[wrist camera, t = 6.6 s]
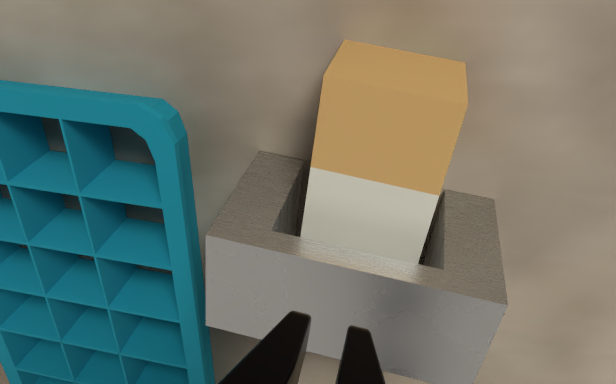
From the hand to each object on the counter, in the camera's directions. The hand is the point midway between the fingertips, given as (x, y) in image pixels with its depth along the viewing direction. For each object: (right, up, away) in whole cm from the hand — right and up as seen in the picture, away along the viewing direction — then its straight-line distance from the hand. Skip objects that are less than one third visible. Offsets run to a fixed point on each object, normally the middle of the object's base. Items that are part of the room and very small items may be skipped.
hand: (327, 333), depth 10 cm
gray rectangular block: (+2, +2, +11) cm, 11 cm away
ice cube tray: (-10, -1, +16) cm, 19 cm away
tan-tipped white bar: (+2, +3, +10) cm, 11 cm away
